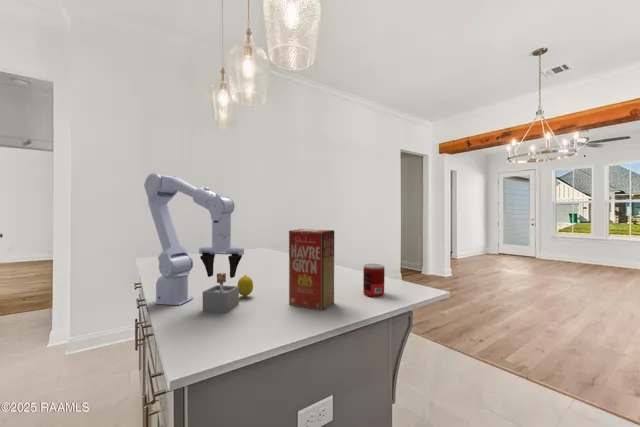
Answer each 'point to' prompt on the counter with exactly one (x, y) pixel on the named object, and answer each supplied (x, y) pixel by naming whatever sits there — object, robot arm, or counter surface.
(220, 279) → the plunger
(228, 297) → the open box
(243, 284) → the lemon
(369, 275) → the canned food
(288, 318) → the counter surface
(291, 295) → the food packaging
